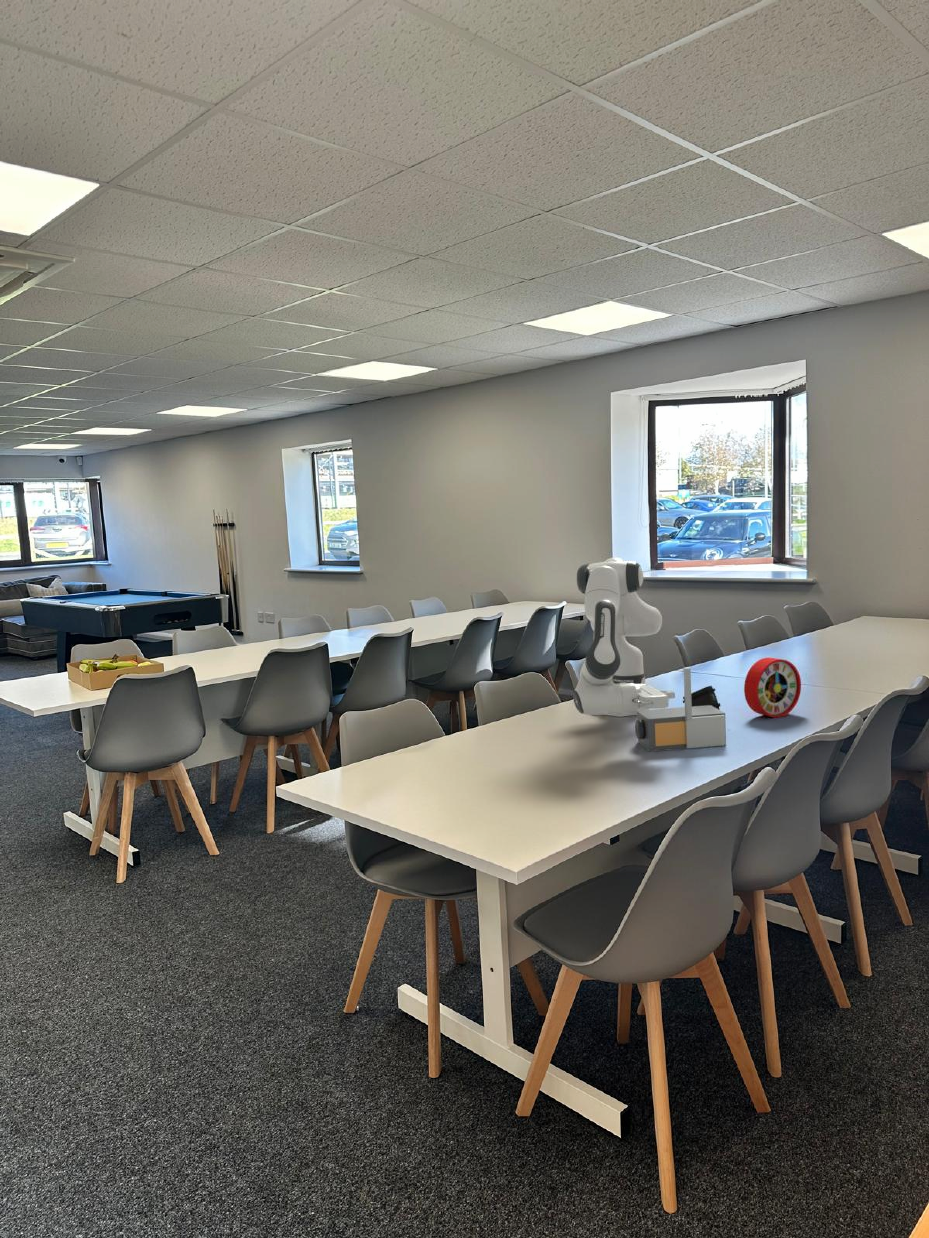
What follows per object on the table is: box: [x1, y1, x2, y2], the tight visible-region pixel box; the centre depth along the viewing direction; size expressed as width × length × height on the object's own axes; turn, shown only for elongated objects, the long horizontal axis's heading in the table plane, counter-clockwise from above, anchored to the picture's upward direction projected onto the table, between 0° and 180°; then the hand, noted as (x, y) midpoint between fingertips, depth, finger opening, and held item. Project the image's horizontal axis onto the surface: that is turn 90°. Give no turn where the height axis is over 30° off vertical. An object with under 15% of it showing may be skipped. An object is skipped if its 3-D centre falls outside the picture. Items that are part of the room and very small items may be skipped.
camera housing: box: [634, 705, 727, 752], centre depth 264 cm, size 26×12×10 cm, turn 95°
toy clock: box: [743, 657, 802, 718], centre depth 292 cm, size 20×6×20 cm, turn 114°
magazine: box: [682, 685, 722, 711], centre depth 278 cm, size 4×13×15 cm, turn 37°
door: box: [683, 667, 727, 749], centre depth 256 cm, size 12×2×25 cm, turn 95°
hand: (673, 694), depth 255 cm, fingers closed
